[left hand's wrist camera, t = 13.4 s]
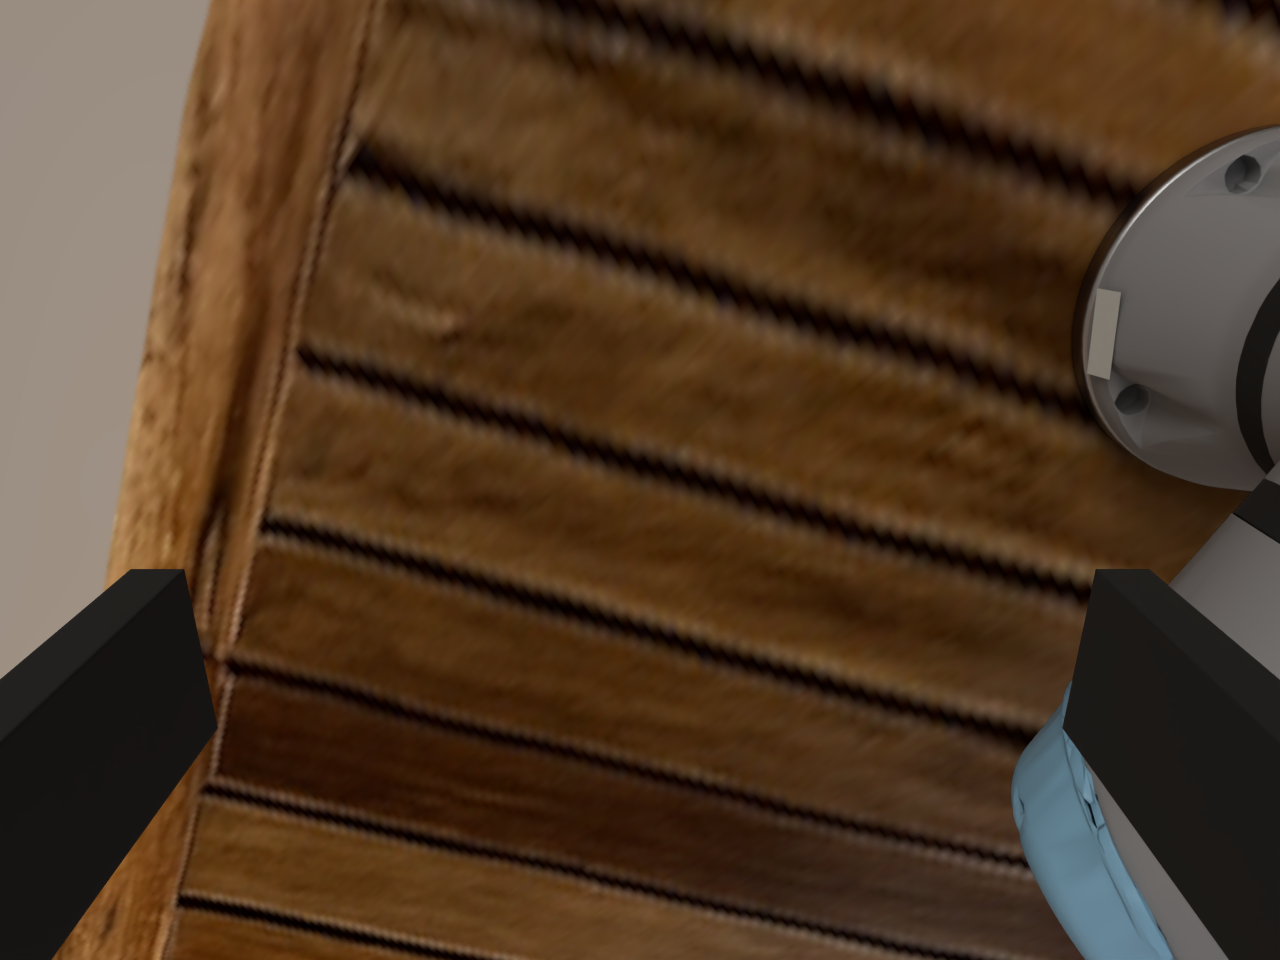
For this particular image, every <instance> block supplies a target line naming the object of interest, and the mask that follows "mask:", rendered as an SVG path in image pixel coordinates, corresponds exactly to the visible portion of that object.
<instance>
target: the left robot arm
mask: <svg viewBox="0 0 1280 960" xmlns="http://www.w3.org/2000/svg"><path fill="white" fill-rule="evenodd" d="M1072 353H1073V363H1074V369H1075V374H1076V378H1077V382H1078V385H1079V388H1080V391H1081V394H1082V397H1083V399H1084V401H1085V403H1086V405H1087V407H1088V409H1089V411H1090V412H1091V414H1092V415H1093V417H1094V419H1095V420H1096V422H1097V423H1098V424H1099V425H1100V427H1101V428H1102V429H1103V430H1104V431H1105V433H1106V434H1107V435H1108V436H1109V437H1111V438H1112V439H1113V440H1114V441H1115V442H1116V443H1117V444H1118V445H1120V446H1121V447H1122V448H1124V449H1125V450H1126V451H1128V452H1129V453H1131V454H1132V455H1134V456H1135V457H1137V458H1139V459H1140V460H1142V461H1143V462H1145V463H1147V464H1148V465H1150V466H1152V467H1154V468H1156V469H1158V470H1160V471H1162V472H1164V473H1167V474H1169V475H1172V476H1175V477H1178V478H1181V479H1184V480H1187V481H1190V482H1193V483H1197V484H1201V485H1206V486H1212V487H1219V488H1227V489H1236V490H1246V491H1252V492H1251V493H1250V494H1249V496H1248V497H1247V498H1246V499H1245V500H1244V501H1243V502H1242V503H1241V505H1240V506H1239V507H1238V508H1237V509H1236V510H1235V511H1233V514H1232V513H1231V514H1230V515H1229V516H1228V518H1227V519H1226V520H1225V521H1224V522H1223V523H1222V525H1221V526H1220V527H1219V528H1218V529H1217V530H1216V531H1215V533H1214V534H1213V535H1212V536H1211V537H1210V538H1209V539H1208V541H1207V542H1206V543H1205V544H1204V545H1203V546H1202V548H1201V549H1200V550H1199V551H1198V552H1197V553H1196V554H1195V556H1194V557H1193V558H1192V559H1191V560H1190V561H1189V562H1188V563H1187V565H1186V566H1185V567H1184V568H1183V569H1182V570H1181V571H1180V572H1179V573H1178V574H1177V576H1176V577H1175V578H1174V579H1173V580H1172V581H1171V582H1170V583H1169V584H1168V585H1167V584H1166V583H1165V582H1164V581H1162V580H1161V579H1160V578H1159V577H1158V576H1156V575H1155V574H1154V573H1153V572H1152V571H1151V570H1149V569H1096V571H1095V576H1094V580H1093V585H1092V590H1091V595H1090V599H1089V604H1088V609H1087V613H1086V618H1085V623H1084V628H1083V632H1082V637H1081V642H1080V647H1079V651H1078V656H1077V661H1076V665H1075V670H1074V675H1073V680H1072V681H1071V682H1070V683H1069V685H1068V686H1067V688H1066V690H1065V692H1064V696H1063V702H1062V703H1061V705H1060V706H1059V707H1058V708H1057V710H1056V711H1055V712H1054V714H1053V715H1052V716H1051V717H1050V719H1049V720H1048V721H1047V722H1046V724H1045V725H1044V726H1043V727H1042V729H1041V730H1040V731H1039V732H1038V734H1037V735H1036V736H1035V737H1034V739H1033V740H1032V741H1031V742H1030V743H1029V745H1028V746H1027V747H1026V748H1025V750H1024V751H1023V753H1022V754H1021V756H1020V758H1019V760H1018V762H1017V764H1016V767H1015V770H1014V775H1013V779H1012V786H1011V801H1012V806H1013V817H1014V820H1015V823H1016V825H1017V828H1018V830H1019V833H1020V841H1021V844H1022V849H1023V852H1024V854H1025V857H1026V859H1027V862H1028V864H1029V866H1030V868H1031V870H1032V872H1033V875H1034V877H1035V879H1036V881H1037V883H1038V885H1039V887H1040V889H1041V891H1042V893H1043V895H1044V896H1045V898H1046V900H1047V902H1048V904H1049V905H1050V907H1051V909H1052V910H1053V912H1054V914H1055V915H1056V917H1057V919H1058V920H1059V922H1060V924H1061V925H1062V927H1063V928H1064V930H1065V931H1066V933H1067V934H1068V936H1069V937H1070V939H1071V940H1072V942H1073V943H1074V945H1075V946H1076V948H1077V949H1078V951H1079V952H1080V953H1081V955H1082V956H1083V957H1084V959H1085V960H1280V124H1273V125H1267V126H1262V127H1256V128H1252V129H1248V130H1245V131H1241V132H1238V133H1234V134H1232V135H1229V136H1226V137H1224V138H1221V139H1219V140H1216V141H1214V142H1212V143H1210V144H1208V145H1206V146H1204V147H1202V148H1200V149H1198V150H1196V151H1194V152H1192V153H1191V154H1189V155H1187V156H1186V157H1184V158H1182V159H1181V160H1179V161H1178V162H1176V163H1175V164H1174V165H1172V166H1171V167H1169V168H1168V169H1167V170H1165V171H1164V172H1162V173H1161V174H1160V175H1159V176H1158V177H1157V178H1155V179H1154V180H1153V181H1152V182H1151V183H1149V184H1148V185H1147V186H1146V187H1145V188H1144V189H1143V190H1142V191H1141V192H1140V193H1139V194H1138V195H1137V196H1136V197H1135V198H1134V199H1133V200H1132V201H1131V202H1130V204H1129V205H1128V206H1127V207H1126V208H1125V209H1124V211H1123V212H1122V213H1121V214H1120V215H1119V217H1118V218H1117V219H1116V221H1115V222H1114V223H1113V225H1112V226H1111V228H1110V229H1109V230H1108V232H1107V233H1106V235H1105V237H1104V238H1103V240H1102V242H1101V243H1100V245H1099V247H1098V248H1097V250H1096V252H1095V254H1094V256H1093V258H1092V260H1091V262H1090V264H1089V267H1088V269H1087V272H1086V274H1085V277H1084V279H1083V282H1082V285H1081V289H1080V292H1079V295H1078V299H1077V303H1076V308H1075V314H1074V320H1073V330H1072ZM1255 527H1256V528H1255ZM1260 530H1261V531H1260ZM1265 533H1266V534H1265ZM1268 535H1269V536H1268ZM1270 536H1271V537H1270ZM1273 538H1274V539H1273ZM1278 541H1279V542H1278ZM217 728H218V727H217V722H216V717H215V713H214V708H213V703H212V699H211V694H210V689H209V684H208V680H207V675H206V670H205V665H204V661H203V656H202V651H201V647H200V642H199V637H198V632H197V628H196V623H195V618H194V613H193V609H192V604H191V599H190V595H189V590H188V585H187V580H186V576H185V571H184V569H131V570H129V571H128V572H127V573H126V574H125V575H124V576H122V577H121V578H120V579H119V580H118V581H116V582H115V583H114V584H113V585H112V586H110V587H109V588H108V589H107V590H106V591H105V592H103V593H102V594H101V595H100V596H99V597H97V598H96V599H95V600H94V601H93V602H92V603H90V604H89V605H88V606H87V607H86V608H84V609H83V610H82V611H81V612H80V613H78V614H77V615H76V616H75V617H74V618H73V619H71V620H70V621H69V622H68V623H67V624H65V625H64V626H63V627H62V628H61V629H59V630H58V631H57V632H56V633H55V634H54V635H52V636H51V637H50V638H49V639H48V640H46V641H45V642H44V643H43V644H42V645H41V646H39V647H38V648H37V649H36V650H35V651H33V652H32V653H31V654H30V655H29V656H27V657H26V658H25V659H24V660H23V661H22V662H20V663H19V664H18V665H17V666H16V667H14V668H13V669H12V670H11V671H10V672H8V673H7V674H6V675H5V676H4V677H3V678H1V679H0V960H51V959H52V958H53V957H54V955H55V954H56V953H57V951H58V950H59V948H60V947H61V946H62V944H63V943H64V941H65V940H66V939H67V937H68V936H69V934H70V933H71V932H72V930H73V929H74V927H75V926H76V925H77V923H78V922H79V920H80V919H81V918H82V916H83V915H84V914H85V912H86V911H87V909H88V908H89V907H90V905H91V904H92V902H93V901H94V900H95V898H96V897H97V895H98V894H99V893H100V891H101V890H102V888H103V887H104V886H105V884H106V883H107V881H108V880H109V879H110V877H111V876H112V875H113V873H114V872H115V870H116V869H117V868H118V866H119V865H120V863H121V862H122V861H123V859H124V858H125V856H126V855H127V854H128V852H129V851H130V849H131V848H132V847H133V845H134V844H135V842H136V841H137V840H138V838H139V837H140V836H141V834H142V833H143V831H144V830H145V829H146V827H147V826H148V824H149V823H150V822H151V820H152V819H153V817H154V816H155V815H156V813H157V812H158V810H159V809H160V808H161V806H162V805H163V803H164V802H165V801H166V799H167V798H168V797H169V795H170V794H171V792H172V791H173V790H174V788H175V787H176V785H177V784H178V783H179V781H180V780H181V778H182V777H183V776H184V774H185V773H186V771H187V770H188V769H189V767H190V766H191V765H192V763H193V762H194V760H195V759H196V758H197V756H198V755H199V753H200V752H201V751H202V749H203V748H204V746H205V745H206V744H207V742H208V741H209V739H210V738H211V737H212V735H213V734H214V732H215V731H216V730H217Z"/></svg>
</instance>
